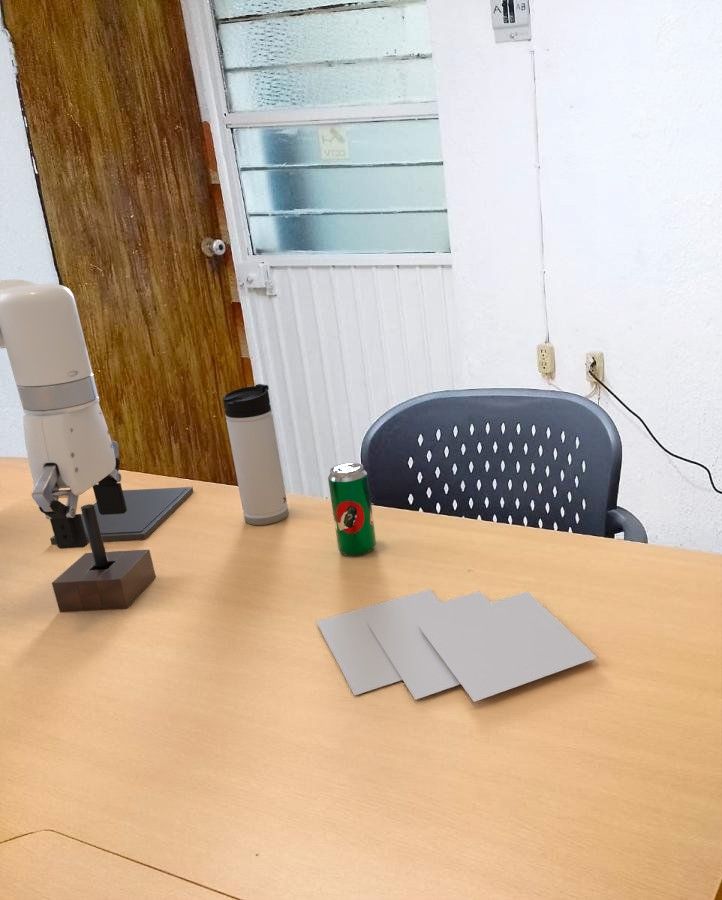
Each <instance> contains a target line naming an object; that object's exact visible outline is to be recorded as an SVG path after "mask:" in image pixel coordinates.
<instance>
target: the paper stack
mask: <svg viewBox="0 0 722 900" xmlns="http://www.w3.org/2000/svg"><path fill="white" fill-rule="evenodd" d="M315 623H316V624H317V626H318V628H319V631H320V632H321V633H322V636H323V638H324V640H325V642H326V644H327V645H328V648H329V650H330V651H331V653H332V655H333V657H334V659H335V661H336V663H337V665H338V667H339V669H340V671H341V673H342V675H343V676H344V678H345V680H346V682H347V684H348V686H349V688H350V690H351V692H352V694H353V696H358V695H361V694H364V693H368V692H370V691H373V690H376V689H379V688H382V687H386V686H388V685H392V684H395V683H398V682H400V681H403V683H404V684H405V686H406V688H407V689H408V691H409V692H410V694H411V695H412V698H413V699H414V701H416V700H419V699H422V698H425V697H428V696H430V695H434V694H436V693H441V692H443V691H446V690H448V689H451V688H454V687H457V686H460V685H461V687H463V689H464V690H465V692H466V693H467V694H468V696H469V698H471V700H472V701H473V703H476V702H478V701H481V700H484V699H487V698H489V697H492V696H496V695H497V694H500V693H503V692H506V691H509V690H512V689H514V688H517V687H521V686H524V685H526V684H529V683H532V682H534V681H537V680H539V679H540V680H541V679H543V678H545V677H548V676H551V675H554V674H557V673H559V672H561V671H562V672H563V671H565V670H568V669H570V668H573V667H575V666H579V665H581V664H585V663H587V662H589V661H593V660H595V659H598V657H597V656H598V655H596V654H594V652H592V651H591V650H590V649H589V648H588V647H587V646H586V645H585V643H583V642H582V641H581V640H580V639H579V638H578V637H577V636H576V635H574V633H572V631H570V630H569V629H568V628H567V627H566V626H565V625H564V624H563V623H562V622H561V621H560V620H559V619H558V618H557V617H556V616H555V615H554V614H553V613H551V611H549V610H548V608H546V607H545V606H544V605H543V604H542V603H541V602H540V601H538V599H536V597H534V596H533V594H532V593H530V592H529V591H527V590H526V591H524V592H521V593H518V594H514V595H511V596H507V597H504V598H500V599H497V600H494V601H490V600H489V598H487V597H486V596H485V595H484V594H483V592H482V591H481V590H479V591H474V592H472V593H468V594H465V595H461V596H458V597H457V596H456V597H454V598H451V599H447V600H444V601H441V600H440V599H439V597H438V596H437V595H436V594H435V593H434V591H433V590H432V589H431V588H428V589H425V590H421V591H418V592H415V593H411V594H408V595H407V594H406V595H404V596H400V597H397V598H393V599H390V600H385V601H383V602H379V603H376V604H372V605H368V606H364V607H360V608H358V609H357V608H356V609H354V610H351V611H347V612H343V613H340V614H337V615H333V616H329V617H326V618H325V617H324V618H321V619H319V620H316V621H315Z"/></svg>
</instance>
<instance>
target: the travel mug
mask: <svg viewBox="0 0 722 900" xmlns="http://www.w3.org/2000/svg"><path fill="white" fill-rule="evenodd" d="M269 390H270V388H269V385H268V384H263V383H258V384H254V385H252V386H246V387H240V388H238V389H237V388H236V389H234V390H232V391H230V392H228V393H226V394H225V395H224V396H223V397H222V403H223V408H224V413H225V419H226V420H225V422H226V427H227V432H228V437H229V443H230V448H231V453H232V460H233V464H234V465H233V466H234V470H235V474H236V476H235V477H236V481H237V487H238V491H239V497H240V502H241V507H242V512H243V519H244V521H245V522H246V523H247V524H249V525H253V526H266V525H272V524H276V523H279V522H281V521H282V520H284V519H286V518H287V516H288V515H289V513H290V512H289V506H288V500H287V494H286V487H285V482H284V476H283V469H282V464H281V458H280V451H279V445H278V439H277V433H276V427H275V421H274V415H273V409H272V406H271V400H270V394H269Z"/></svg>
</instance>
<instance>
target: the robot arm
mask: <svg viewBox="0 0 722 900" xmlns="http://www.w3.org/2000/svg"><path fill="white" fill-rule="evenodd" d="M0 349H5V350H6V353H7V356H8V360H9V364H10V367H11V371H12V375H13V379H14V383H15V384H16V389H17V392H18V395H19V400H20V403H21V407H22V411H23V413H24V415H23V416H22V417H23V435H24V436H23V437H24V443H25V450H26V456H27V459H28V460H27V461H28V466H29V471H30V474H31V479H32V484H33V488H32V490H31V498H32V499H33V501H34V502H35V503H36V504H37V506H38V509H39V512H40V513H43V514H44V516H45V518H46V519H47V520H49V522H50V525H51V529H52V533H53V536H55V540H56V543H57V544H56V546H57V549H60V550H64V549H82V548H85V547H87V546H88V544H89V542H88V541H87V537H86V533H85V529H84V525H83V522H82V518H81V514H82V513H77V509H78V502H79V497H80V496H81V495H83V494H84V493H87V491H89V490H90V489H91V488H92V490H93V493H94V498H95V503H96V502H97V506H98V510H99V513H100V514H101V515H109V514H124V513H125V512H126V511H127V507H126V503H125V499H124V495H123V491H122V490H123V488H122V483H121V482H122V475H121V473H120V472H119V471H120V466H121V461H120V458H119V443H118V441H115V440H112V438H111V434H110V431H109V428H108V425H107V422H106V419H105V415H104V413H103V410H102V408H101V405H100V397H99V393H98V389H97V385H96V381H95V377H94V373H93V368H92V365H91V360H90V357H89V351H88V348H87V345H86V340H85V335H84V331H83V327H82V324H81V319H80V315H79V311H78V307H77V302H76V299H75V297H74V294H73V292H72V291H71V290H70V289H69V288H68V287H67V286H65V285H62V284H58V283H34V282H33V281H29V280H26V279H25V280H24V279H15V278H14V279H2V280H1V279H0ZM59 499H66V505H65V504H64V503H62V501H59Z"/></svg>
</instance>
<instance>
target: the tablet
mask: <svg viewBox="0 0 722 900" xmlns="http://www.w3.org/2000/svg"><path fill="white" fill-rule="evenodd" d="M122 491H123V495H124V499H125V503H126V507H127V511H126V512H125V513H124V514H109V515H101V514H100V513H99V510H98V506H97V502H96V501H95V503H94V504H93V505H94V507H95V511H96V515H97V519H98V523H99V527H100V531H101V535H102V539H103V543H105V542H106V543H107V542H122V541H123V542H124V541H143V540H146V539H147V538H149V537H150V535H152V533H154V531H155V530H157V529H158V528H159V527H160V525H162V524H163V523H164V522H165V521H166V520H167V519H168V518H169V517H170V516H171V515H172V513H174V512H175V511H176V510H177V509H178V508H179V507H180V506H181V505H182V504H183V503H184V502H185V501H186V500H187V499H188V498H189V497H190V496H191V495H192V494H193V493H194V487H193V486H185V487H161V488H143V489H142V488H141V489H122ZM80 514H81V518H82V522H83V525H84V529H85V533H86V537H87V541H88V543H90V542H89V538H88V535H87V531H86V527H85V523H84V519H83V515H82V513H80ZM49 540H50V543H51V545H57V543H56V540H55V536H54V535H53V536H52V537H50V539H49Z"/></svg>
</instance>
